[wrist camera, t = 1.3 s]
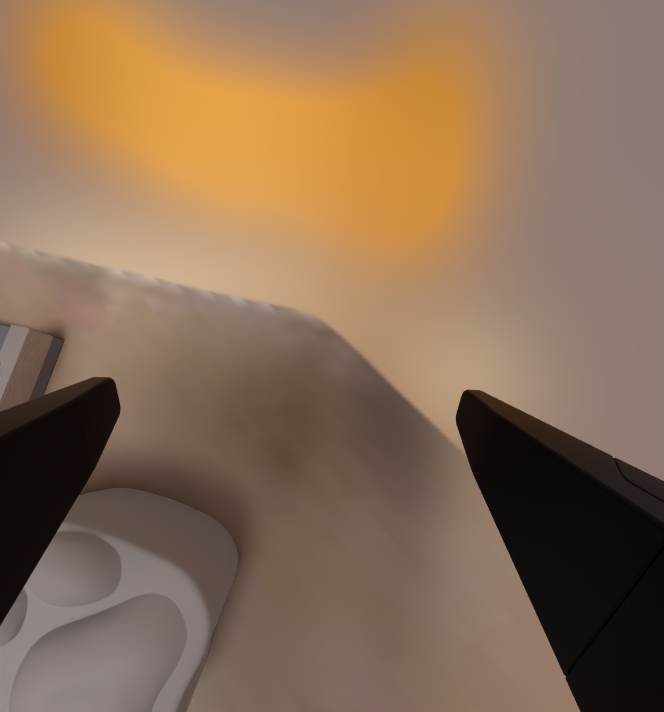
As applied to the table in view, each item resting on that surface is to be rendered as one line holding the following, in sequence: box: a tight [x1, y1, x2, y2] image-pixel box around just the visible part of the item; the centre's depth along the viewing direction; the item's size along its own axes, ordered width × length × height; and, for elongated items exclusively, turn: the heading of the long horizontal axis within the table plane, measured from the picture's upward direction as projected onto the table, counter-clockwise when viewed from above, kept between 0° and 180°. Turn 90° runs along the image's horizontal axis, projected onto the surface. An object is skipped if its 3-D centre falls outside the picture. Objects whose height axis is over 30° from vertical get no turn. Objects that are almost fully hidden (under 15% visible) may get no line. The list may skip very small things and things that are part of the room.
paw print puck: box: [0, 488, 238, 712], centre depth 16 cm, size 10×13×9 cm
